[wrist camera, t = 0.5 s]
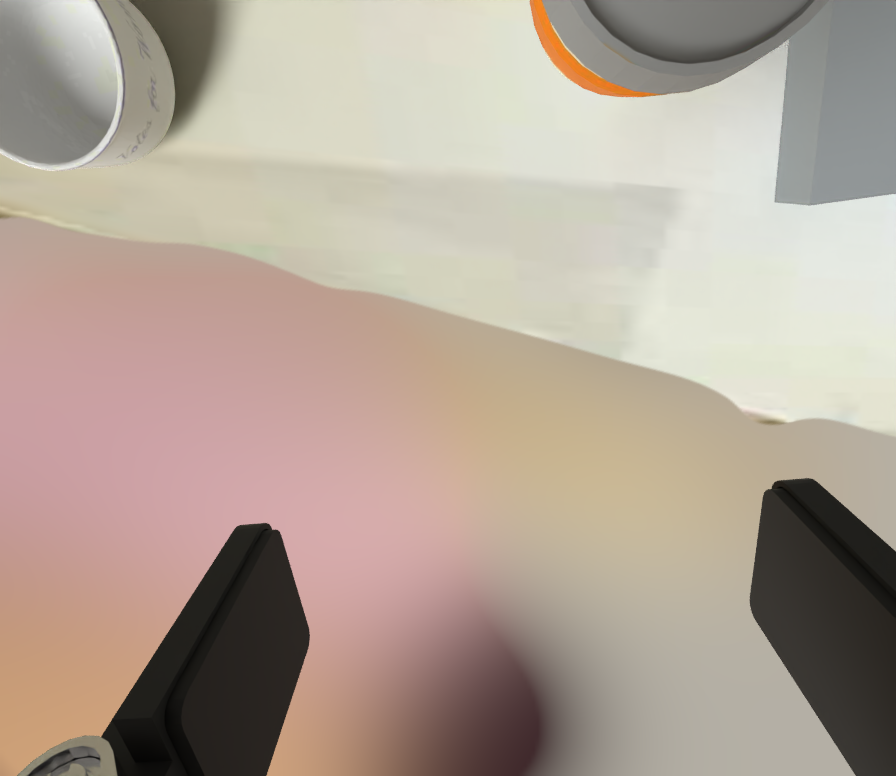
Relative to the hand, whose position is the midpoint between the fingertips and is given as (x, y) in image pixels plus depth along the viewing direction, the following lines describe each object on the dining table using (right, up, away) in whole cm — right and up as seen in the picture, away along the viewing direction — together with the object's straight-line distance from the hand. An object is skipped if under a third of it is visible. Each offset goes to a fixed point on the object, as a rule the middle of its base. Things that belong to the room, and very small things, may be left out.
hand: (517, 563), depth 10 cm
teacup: (-23, +25, +24) cm, 42 cm away
